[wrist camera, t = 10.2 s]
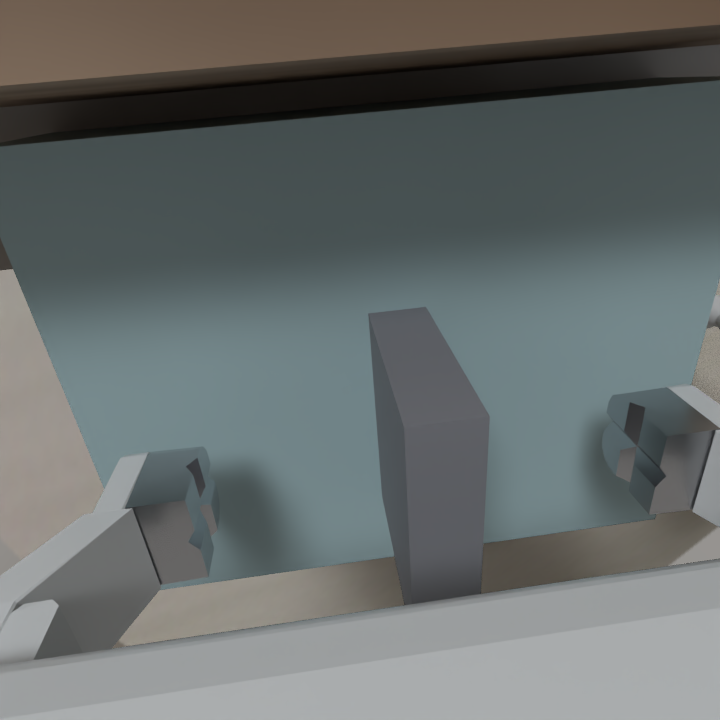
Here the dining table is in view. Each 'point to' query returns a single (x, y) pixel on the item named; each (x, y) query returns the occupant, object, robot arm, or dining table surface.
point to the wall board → (321, 54)
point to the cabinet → (378, 309)
